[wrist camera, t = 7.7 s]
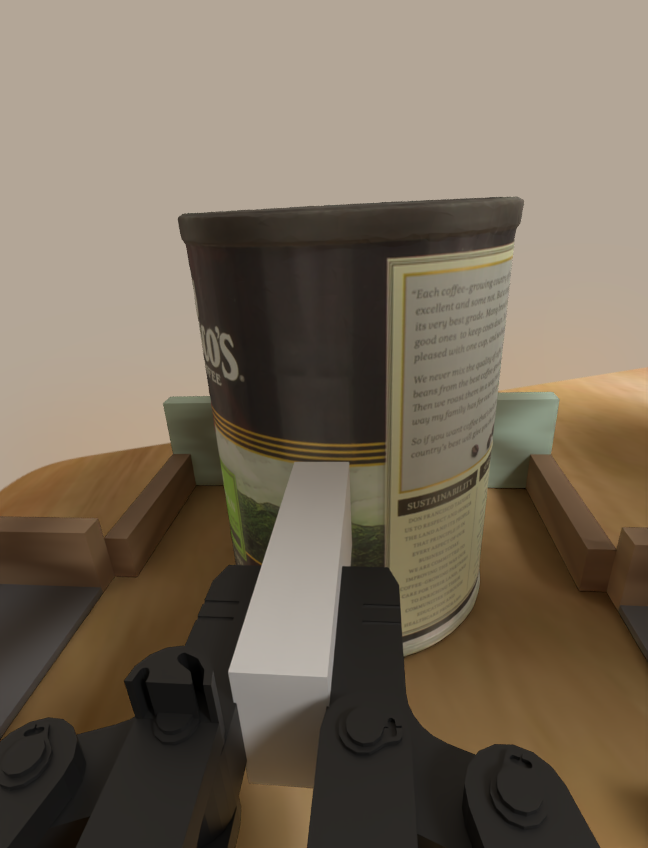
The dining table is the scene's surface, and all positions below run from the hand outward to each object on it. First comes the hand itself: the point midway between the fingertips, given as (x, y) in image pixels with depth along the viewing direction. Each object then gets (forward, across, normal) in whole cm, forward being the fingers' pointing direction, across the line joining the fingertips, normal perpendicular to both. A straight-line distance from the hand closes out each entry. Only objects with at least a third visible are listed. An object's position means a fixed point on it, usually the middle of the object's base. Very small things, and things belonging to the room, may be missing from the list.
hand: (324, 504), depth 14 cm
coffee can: (+5, +1, -7) cm, 9 cm away
